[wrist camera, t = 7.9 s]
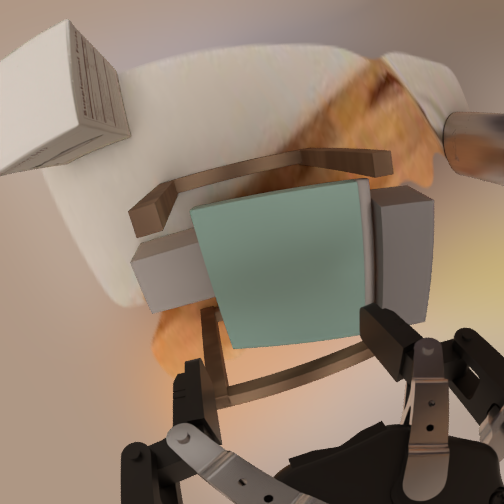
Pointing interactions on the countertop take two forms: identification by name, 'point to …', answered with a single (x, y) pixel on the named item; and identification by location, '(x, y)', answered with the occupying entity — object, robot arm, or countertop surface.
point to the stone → (172, 271)
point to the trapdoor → (316, 259)
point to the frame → (153, 220)
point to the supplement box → (57, 101)
